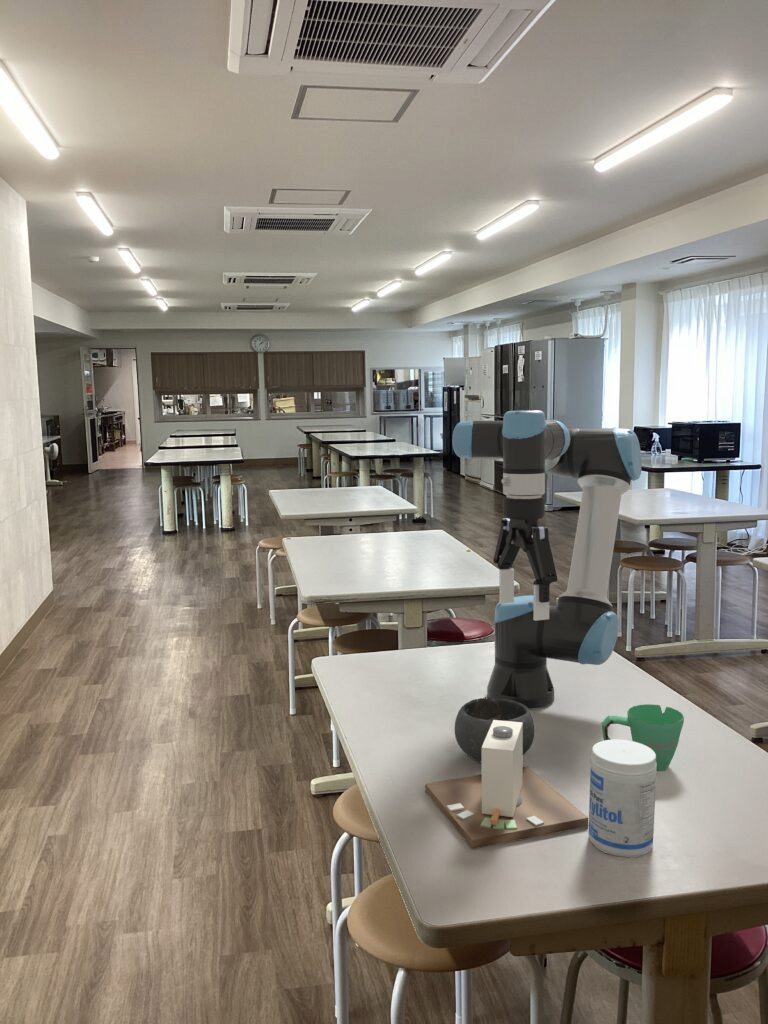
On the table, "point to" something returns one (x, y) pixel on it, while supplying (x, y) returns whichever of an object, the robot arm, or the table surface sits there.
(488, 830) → the board
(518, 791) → the white block with knob
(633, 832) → the supplement tub
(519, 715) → the bowl
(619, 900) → the table surface
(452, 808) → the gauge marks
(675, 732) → the mug
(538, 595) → the robot arm
